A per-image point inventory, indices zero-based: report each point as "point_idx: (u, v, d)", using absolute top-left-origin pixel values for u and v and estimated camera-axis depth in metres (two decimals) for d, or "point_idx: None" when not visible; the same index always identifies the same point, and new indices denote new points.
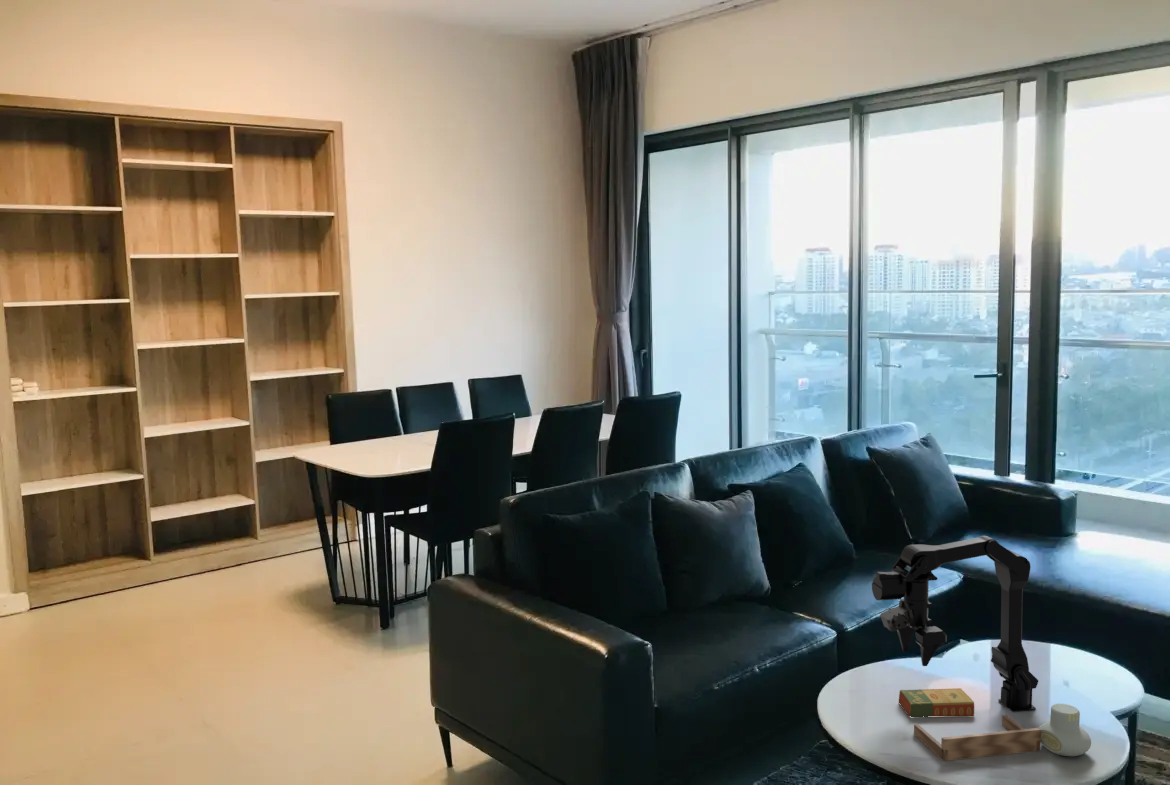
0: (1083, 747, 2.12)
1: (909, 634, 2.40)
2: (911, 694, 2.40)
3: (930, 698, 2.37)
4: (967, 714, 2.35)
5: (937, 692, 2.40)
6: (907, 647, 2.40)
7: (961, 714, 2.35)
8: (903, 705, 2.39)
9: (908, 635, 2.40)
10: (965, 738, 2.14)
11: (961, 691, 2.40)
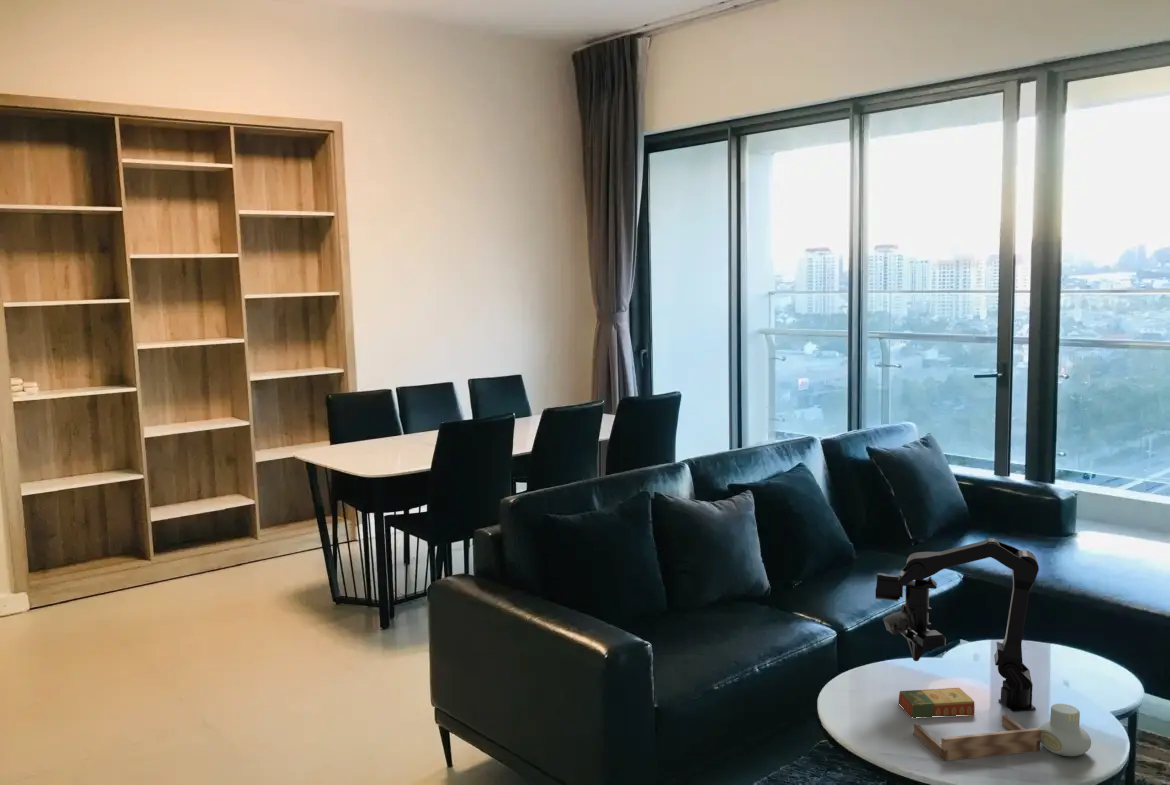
0: (1083, 747, 2.12)
1: None
2: (912, 694, 2.39)
3: (931, 699, 2.36)
4: (967, 713, 2.35)
5: (937, 692, 2.40)
6: None
7: (962, 714, 2.35)
8: (904, 706, 2.39)
9: None
10: (965, 738, 2.14)
11: (960, 690, 2.41)
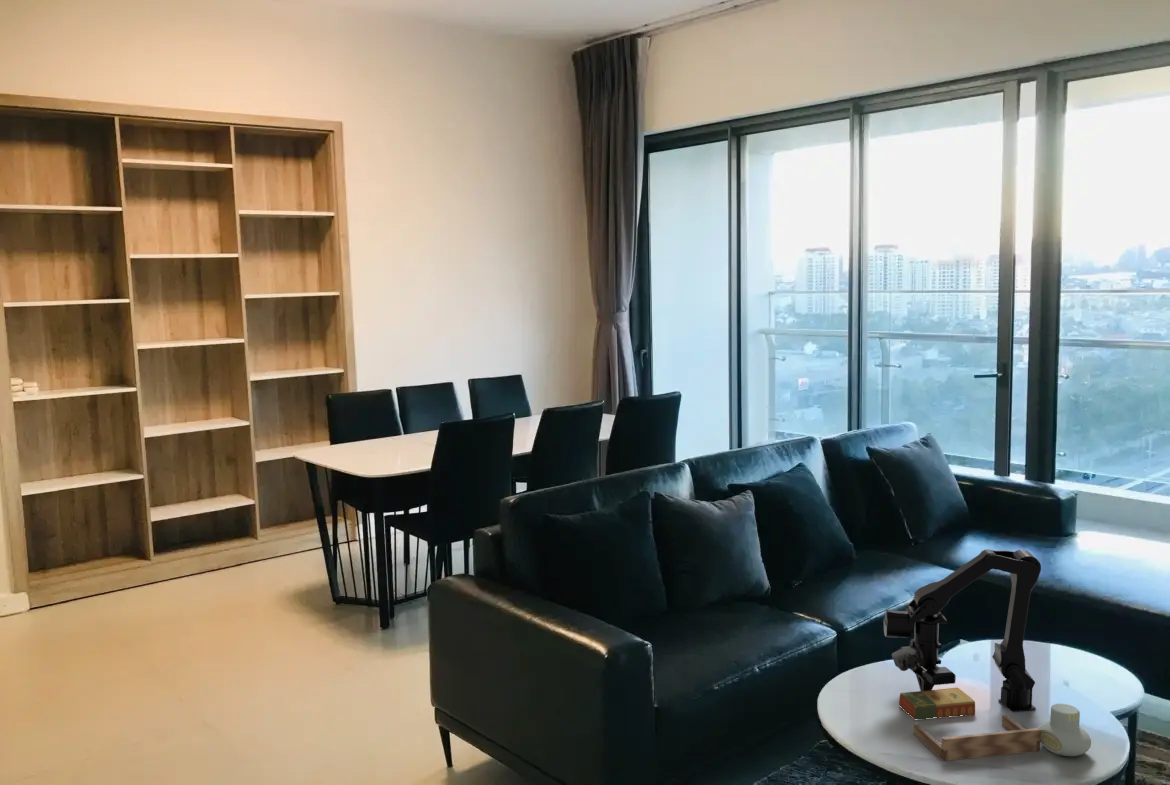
0: (1083, 747, 2.12)
1: None
2: (913, 696, 2.38)
3: (932, 700, 2.36)
4: (968, 713, 2.35)
5: (937, 693, 2.40)
6: None
7: (963, 714, 2.35)
8: (905, 708, 2.38)
9: None
10: (965, 738, 2.14)
11: (959, 690, 2.41)
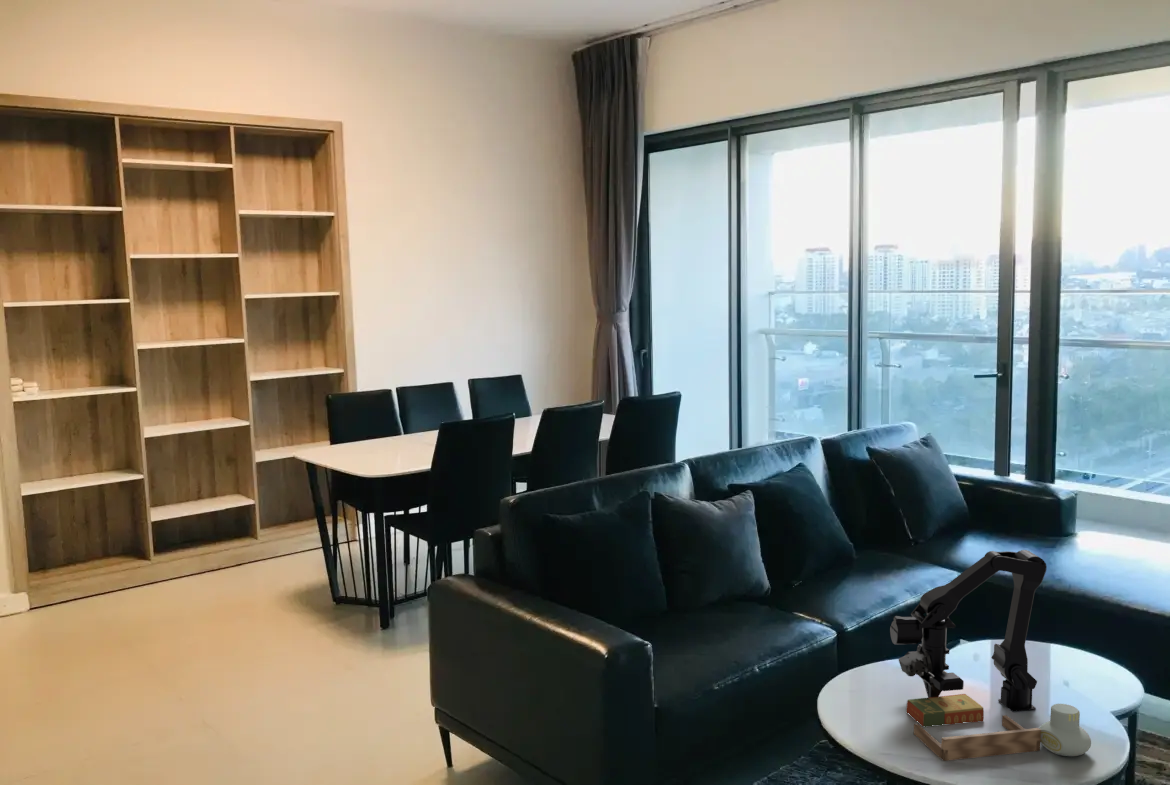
0: (1083, 747, 2.12)
1: None
2: (921, 703, 2.35)
3: (940, 707, 2.32)
4: (977, 720, 2.32)
5: (944, 699, 2.36)
6: None
7: (971, 720, 2.32)
8: (913, 715, 2.34)
9: None
10: (965, 738, 2.14)
11: (967, 697, 2.38)
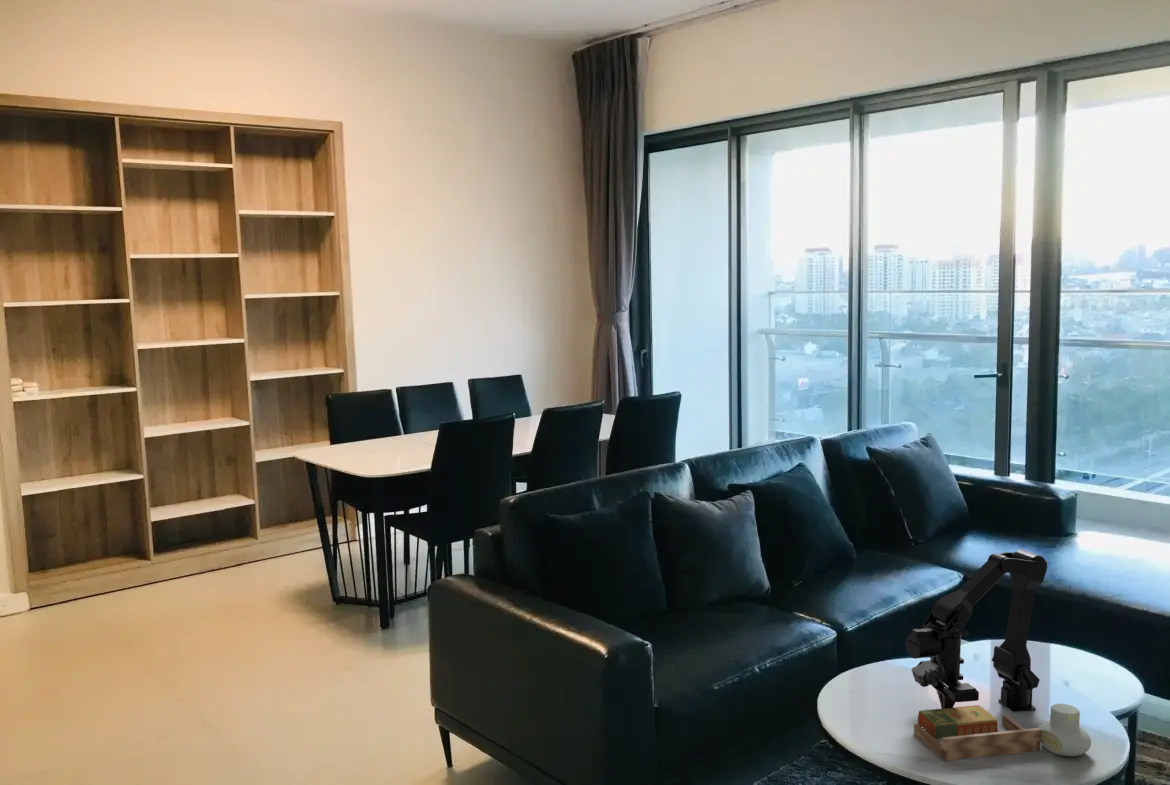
0: (1083, 747, 2.12)
1: None
2: (932, 714, 2.29)
3: (953, 718, 2.26)
4: (991, 732, 2.26)
5: (957, 711, 2.30)
6: None
7: None
8: (924, 727, 2.28)
9: None
10: (965, 738, 2.14)
11: (980, 708, 2.31)
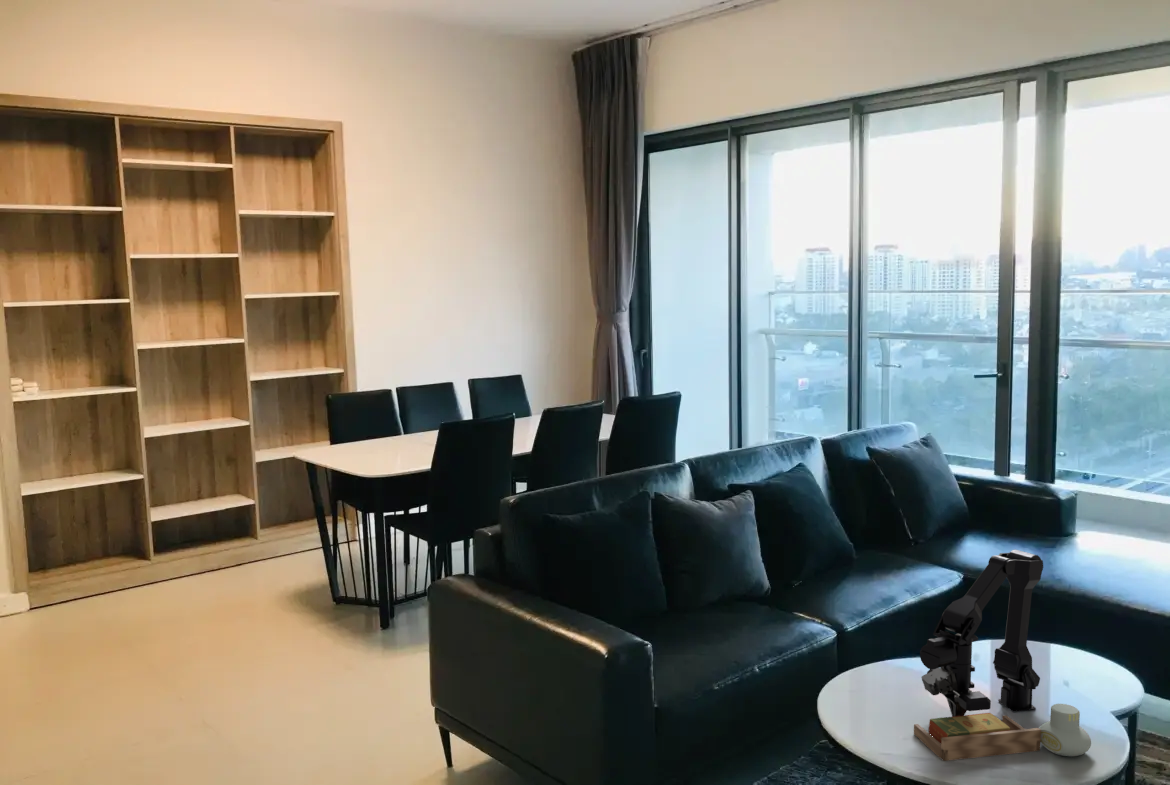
0: (1083, 747, 2.12)
1: None
2: (944, 723, 2.24)
3: (965, 727, 2.21)
4: None
5: (969, 719, 2.25)
6: None
7: None
8: (936, 735, 2.23)
9: None
10: (965, 738, 2.14)
11: (992, 716, 2.27)
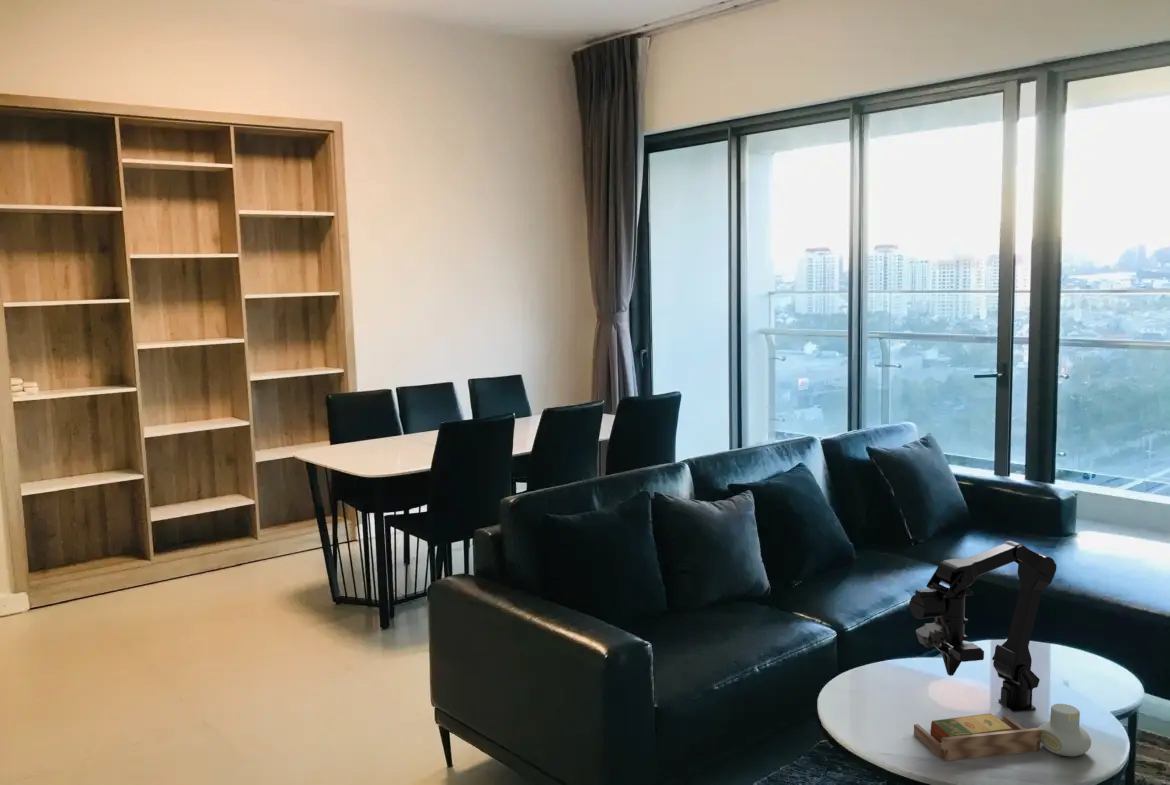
0: (1083, 747, 2.12)
1: None
2: (946, 724, 2.23)
3: (967, 728, 2.21)
4: None
5: (970, 720, 2.25)
6: None
7: None
8: (938, 737, 2.22)
9: None
10: (965, 738, 2.14)
11: (993, 716, 2.26)
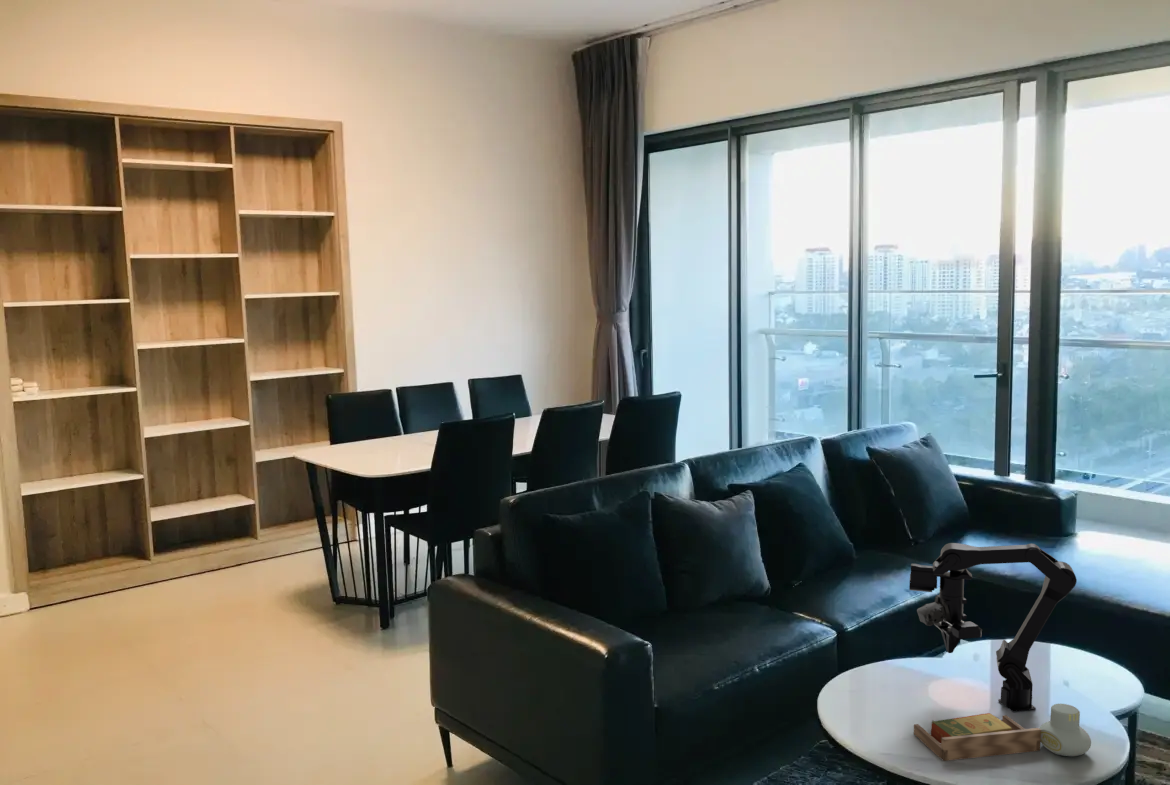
0: (1083, 747, 2.12)
1: None
2: (946, 725, 2.23)
3: (968, 728, 2.21)
4: None
5: (970, 720, 2.25)
6: None
7: None
8: (939, 738, 2.22)
9: None
10: (965, 738, 2.14)
11: (992, 716, 2.26)
